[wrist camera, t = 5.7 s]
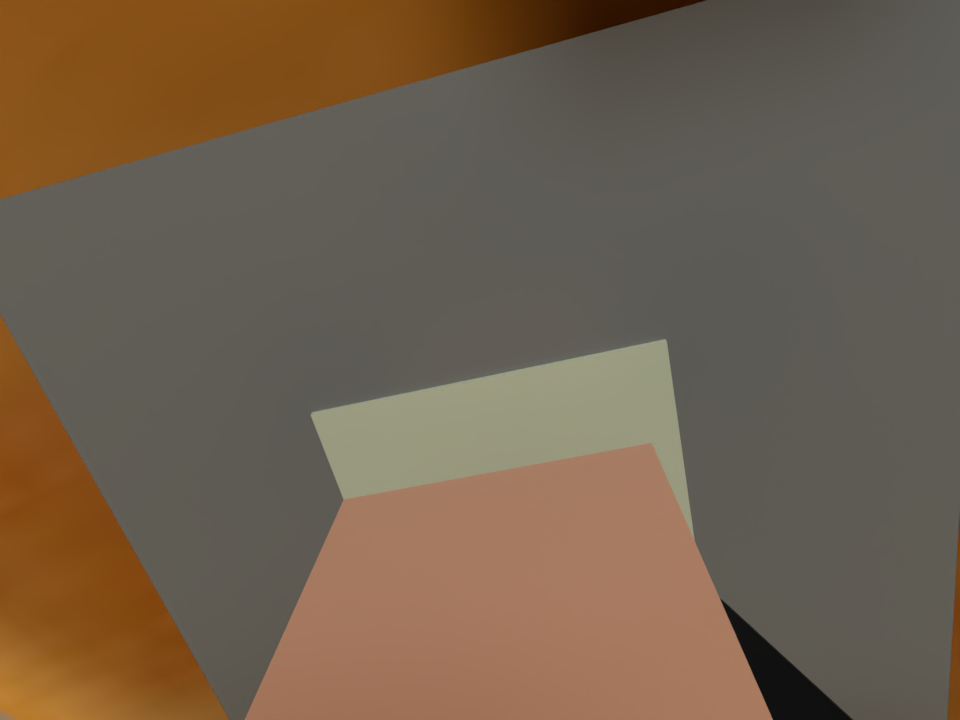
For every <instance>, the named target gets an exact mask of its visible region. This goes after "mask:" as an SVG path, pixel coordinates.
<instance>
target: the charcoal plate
mask: <svg viewBox="0 0 960 720" xmlns="http://www.w3.org/2000/svg"><path fill="white" fill-rule="evenodd" d="M0 315H1V316H2V318H3V320H4V322H5V323H6V325H7V327H8V329H9V331H10V332H11V334H12V336H13V338H14V339H15V341H16V343H17V345H18V346H19V348H20V350H21V352H22V353H23V355H24V357H25V359H26V361H27V362H28V364H29V366H30V368H31V369H32V371H33V373H34V375H35V376H36V378H37V380H38V382H39V384H40V385H41V387H42V389H43V391H44V392H45V394H46V396H47V398H48V399H49V401H50V403H51V405H52V406H53V408H54V410H55V412H56V414H57V415H58V417H59V419H60V421H61V422H62V424H63V426H64V428H65V429H66V431H67V433H68V435H69V436H70V438H71V440H72V442H73V444H74V445H75V447H76V449H77V451H78V452H79V454H80V456H81V458H82V459H83V461H84V463H85V465H86V467H87V468H88V470H89V472H90V474H91V475H92V477H93V479H94V481H95V482H96V484H97V486H98V488H99V489H100V491H101V493H102V495H103V497H104V498H105V500H106V502H107V504H108V505H109V507H110V509H111V511H112V512H113V514H114V516H115V518H116V520H117V521H118V523H119V525H120V527H121V528H122V530H123V532H124V534H125V535H126V537H127V539H128V541H129V542H130V544H131V546H132V548H133V550H134V551H135V553H136V555H137V557H138V558H139V560H140V562H141V564H142V565H143V567H144V569H145V571H146V572H147V574H148V576H149V578H150V580H151V581H152V583H153V585H154V587H155V588H156V590H157V592H158V594H159V595H160V597H161V599H162V601H163V603H164V604H165V606H166V608H167V610H168V611H169V613H170V615H171V617H172V618H173V620H174V622H175V624H176V625H177V627H178V629H179V631H180V633H181V634H182V636H183V638H184V640H185V641H186V643H187V645H188V647H189V648H190V650H191V652H192V654H193V655H194V657H195V659H196V661H197V663H198V664H199V666H200V668H201V670H202V671H203V673H204V675H205V677H206V678H207V680H208V682H209V684H210V686H211V687H212V689H213V691H214V693H215V694H216V696H217V698H218V700H219V701H220V703H221V705H222V707H223V708H224V710H225V712H226V714H227V716H228V717H229V719H230V720H245V718H246V716H247V713H248V711H249V709H250V707H251V705H252V702H253V700H254V698H255V696H256V693H257V691H258V689H259V687H260V685H261V682H262V680H263V678H264V676H265V673H266V671H267V669H268V667H269V665H270V662H271V660H272V658H273V656H274V653H275V651H276V649H277V647H278V645H279V642H280V640H281V638H282V636H283V633H284V631H285V629H286V627H287V625H288V622H289V620H290V618H291V616H292V613H293V611H294V609H295V607H296V605H297V602H298V600H299V598H300V596H301V593H302V591H303V589H304V587H305V585H306V582H307V580H308V578H309V576H310V573H311V571H312V569H313V567H314V565H315V562H316V560H317V558H318V556H319V553H320V551H321V549H322V547H323V545H324V542H325V540H326V538H327V536H328V533H329V531H330V529H331V527H332V525H333V522H334V520H335V518H336V516H337V513H338V511H339V509H340V507H341V505H342V502H343V500H344V499H349V498H355V497H360V496H366V495H371V494H376V493H382V492H387V491H393V490H398V489H404V488H409V487H414V486H420V485H425V484H431V483H436V482H442V481H447V480H453V479H458V478H463V477H469V476H474V475H480V474H485V473H491V472H496V471H501V470H507V469H512V468H518V467H523V466H529V465H534V464H539V463H545V462H550V461H556V460H561V459H567V458H572V457H577V456H583V455H588V454H594V453H599V452H605V451H610V450H616V449H621V448H626V447H632V446H637V445H643V444H648V443H652V445H653V447H654V449H655V452H656V454H657V456H658V459H659V461H660V463H661V465H662V468H663V470H664V472H665V474H666V477H667V479H668V481H669V484H670V486H671V488H672V490H673V493H674V495H675V497H676V500H677V502H678V504H679V506H680V509H681V511H682V513H683V516H684V518H685V520H686V522H687V525H688V527H689V529H690V532H691V534H692V536H693V538H694V541H695V543H696V545H697V548H698V550H699V552H700V554H701V557H702V559H703V561H704V564H705V566H706V568H707V570H708V573H709V575H710V577H711V580H712V582H713V584H714V586H715V589H716V591H717V593H718V595H719V598H720V599H722V600H723V601H724V602H725V603H727V604H728V605H729V606H730V607H731V608H732V609H733V610H734V611H735V612H736V613H737V614H739V615H740V616H741V617H742V618H743V619H744V620H745V621H746V622H747V623H748V624H749V625H751V626H752V627H753V628H754V629H755V630H756V631H757V632H758V633H759V634H760V635H761V636H763V637H764V638H765V639H766V640H767V641H768V642H769V643H770V644H771V645H772V646H773V647H775V648H776V649H777V650H778V651H779V652H780V653H781V654H782V655H783V656H784V657H785V658H787V659H788V660H789V661H790V662H791V663H792V664H793V665H794V666H795V667H796V668H797V669H799V670H800V671H801V672H802V673H803V674H804V675H805V676H806V677H807V678H808V679H809V680H811V681H812V682H813V683H814V684H815V685H816V686H817V687H818V688H819V689H820V690H821V691H823V692H824V693H825V694H826V695H827V696H828V697H829V698H830V699H831V700H832V701H833V702H835V703H836V704H837V705H838V706H839V707H840V708H841V709H842V710H843V711H844V712H845V713H847V714H848V715H849V716H850V717H851V718H852V719H853V720H947V716H948V699H949V682H950V665H951V648H952V631H953V614H954V597H955V580H956V563H957V546H958V529H959V512H960V0H706V1H703V2H699V3H696V4H692V5H688V6H685V7H681V8H678V9H674V10H671V11H667V12H664V13H660V14H657V15H653V16H649V17H646V18H642V19H639V20H635V21H632V22H628V23H625V24H621V25H617V26H614V27H610V28H607V29H603V30H600V31H596V32H593V33H589V34H586V35H582V36H578V37H575V38H571V39H568V40H564V41H561V42H557V43H554V44H550V45H546V46H543V47H539V48H536V49H532V50H529V51H525V52H522V53H518V54H515V55H511V56H507V57H504V58H500V59H497V60H493V61H490V62H486V63H483V64H479V65H475V66H472V67H468V68H465V69H461V70H458V71H454V72H451V73H447V74H444V75H440V76H436V77H433V78H429V79H426V80H422V81H419V82H415V83H412V84H408V85H404V86H401V87H397V88H394V89H390V90H387V91H383V92H380V93H376V94H373V95H369V96H365V97H362V98H358V99H355V100H351V101H348V102H344V103H341V104H337V105H333V106H330V107H326V108H323V109H319V110H316V111H312V112H309V113H305V114H302V115H298V116H294V117H291V118H287V119H284V120H280V121H277V122H273V123H270V124H266V125H263V126H259V127H255V128H252V129H248V130H245V131H241V132H238V133H234V134H231V135H227V136H223V137H220V138H216V139H213V140H209V141H206V142H202V143H199V144H195V145H192V146H188V147H184V148H181V149H177V150H174V151H170V152H167V153H163V154H160V155H156V156H152V157H149V158H145V159H142V160H138V161H135V162H131V163H128V164H124V165H121V166H117V167H113V168H110V169H106V170H103V171H99V172H96V173H92V174H89V175H85V176H81V177H78V178H74V179H71V180H67V181H64V182H60V183H57V184H53V185H50V186H46V187H42V188H39V189H35V190H32V191H28V192H25V193H21V194H18V195H14V196H10V197H7V198H3V199H0Z"/></svg>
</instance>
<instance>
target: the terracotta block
mask: <svg viewBox="0 0 960 720" xmlns="http://www.w3.org/2000/svg"><path fill="white" fill-rule="evenodd" d="M245 720H773V719H772V717H771V714H770V712H769V710H768V707H767V705H766V703H765V701H764V698H763V696H762V694H761V691H760V689H759V687H758V685H757V682H756V680H755V678H754V675H753V673H752V671H751V669H750V666H749V664H748V662H747V659H746V657H745V655H744V653H743V650H742V648H741V646H740V643H739V641H738V639H737V637H736V634H735V632H734V630H733V627H732V625H731V623H730V621H729V618H728V616H727V614H726V611H725V609H724V607H723V605H722V602H721V600H720V598H719V595H718V593H717V591H716V589H715V586H714V584H713V582H712V580H711V577H710V575H709V573H708V570H707V568H706V566H705V564H704V561H703V559H702V557H701V554H700V552H699V550H698V548H697V545H696V543H695V541H694V538H693V536H692V534H691V532H690V529H689V527H688V525H687V522H686V520H685V518H684V516H683V513H682V511H681V509H680V506H679V504H678V502H677V500H676V497H675V495H674V493H673V490H672V488H671V486H670V484H669V481H668V479H667V477H666V474H665V472H664V470H663V468H662V465H661V463H660V461H659V459H658V456H657V454H656V452H655V449H654V447H653V445H652V443H648V444H643V445H637V446H632V447H626V448H621V449H616V450H610V451H605V452H599V453H594V454H588V455H583V456H577V457H572V458H567V459H561V460H556V461H550V462H545V463H539V464H534V465H529V466H523V467H518V468H512V469H507V470H501V471H496V472H491V473H485V474H480V475H474V476H469V477H463V478H458V479H453V480H447V481H442V482H436V483H431V484H425V485H420V486H414V487H409V488H404V489H398V490H393V491H387V492H382V493H376V494H371V495H366V496H360V497H355V498H349V499H344V500H343V502H342V505H341V507H340V509H339V511H338V513H337V516H336V518H335V520H334V522H333V525H332V527H331V529H330V531H329V533H328V536H327V538H326V540H325V542H324V545H323V547H322V549H321V551H320V553H319V556H318V558H317V560H316V562H315V565H314V567H313V569H312V571H311V573H310V576H309V578H308V580H307V582H306V585H305V587H304V589H303V591H302V593H301V596H300V598H299V600H298V602H297V605H296V607H295V609H294V611H293V613H292V616H291V618H290V620H289V622H288V625H287V627H286V629H285V631H284V633H283V636H282V638H281V640H280V642H279V645H278V647H277V649H276V651H275V653H274V656H273V658H272V660H271V662H270V665H269V667H268V669H267V671H266V673H265V676H264V678H263V680H262V682H261V685H260V687H259V689H258V691H257V693H256V696H255V698H254V700H253V702H252V705H251V707H250V709H249V711H248V713H247V716H246V718H245Z"/></svg>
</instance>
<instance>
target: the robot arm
mask: <svg viewBox="0 0 960 720" xmlns="http://www.w3.org/2000/svg"><path fill="white" fill-rule="evenodd" d="M720 600H721V602H722V605H723V607H724V609H725V611H726V614H727V616H728V618H729V621H730V623H731V625H732V627H733V630H734V632H735V634H736V637H737V639H738V641H739V643H740V646H741V648H742V650H743V653H744V655H745V657H746V659H747V662H748V664H749V666H750V669H751V671H752V673H753V675H754V678H755V680H756V682H757V685H758V687H759V689H760V691H761V694H762V696H763V698H764V701H765V703H766V705H767V707H768V710H769V712H770V714H771V717H772V719H773V720H853V719H852V718H851V717H850V716H849V715H848V714H847V713H845V712H844V711H843V710H842V709H841V708H840V707H839V706H838V705H837V704H836V703H835V702H833V701H832V700H831V699H830V698H829V697H828V696H827V695H826V694H825V693H824V692H823V691H821V690H820V689H819V688H818V687H817V686H816V685H815V684H814V683H813V682H812V681H811V680H809V679H808V678H807V677H806V676H805V675H804V674H803V673H802V672H801V671H800V670H799V669H797V668H796V667H795V666H794V665H793V664H792V663H791V662H790V661H789V660H788V659H787V658H785V657H784V656H783V655H782V654H781V653H780V652H779V651H778V650H777V649H776V648H775V647H773V646H772V645H771V644H770V643H769V642H768V641H767V640H766V639H765V638H764V637H763V636H761V635H760V634H759V633H758V632H757V631H756V630H755V629H754V628H753V627H752V626H751V625H749V624H748V623H747V622H746V621H745V620H744V619H743V618H742V617H741V616H740V615H739V614H737V613H736V612H735V611H734V610H733V609H732V608H731V607H730V606H729V605H728V604H727V603H725V602H724V601H723V600H722V599H720Z"/></svg>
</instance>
